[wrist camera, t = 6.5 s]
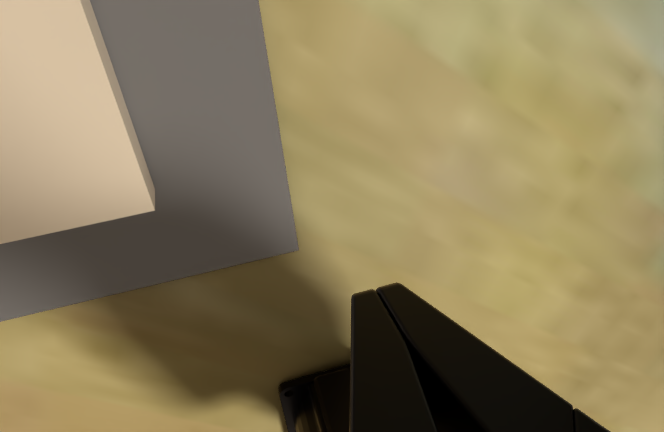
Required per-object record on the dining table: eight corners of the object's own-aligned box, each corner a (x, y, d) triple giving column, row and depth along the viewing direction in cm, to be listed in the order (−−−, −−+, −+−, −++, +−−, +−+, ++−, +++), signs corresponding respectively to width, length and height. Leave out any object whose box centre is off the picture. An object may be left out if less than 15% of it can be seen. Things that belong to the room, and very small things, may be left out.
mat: (297, 244, 23) (298, 250, 23) (-105, 339, 21) (-109, 347, 20) (200, -348, 12) (201, -352, 12) (-668, -300, 10) (-695, -305, 10)
